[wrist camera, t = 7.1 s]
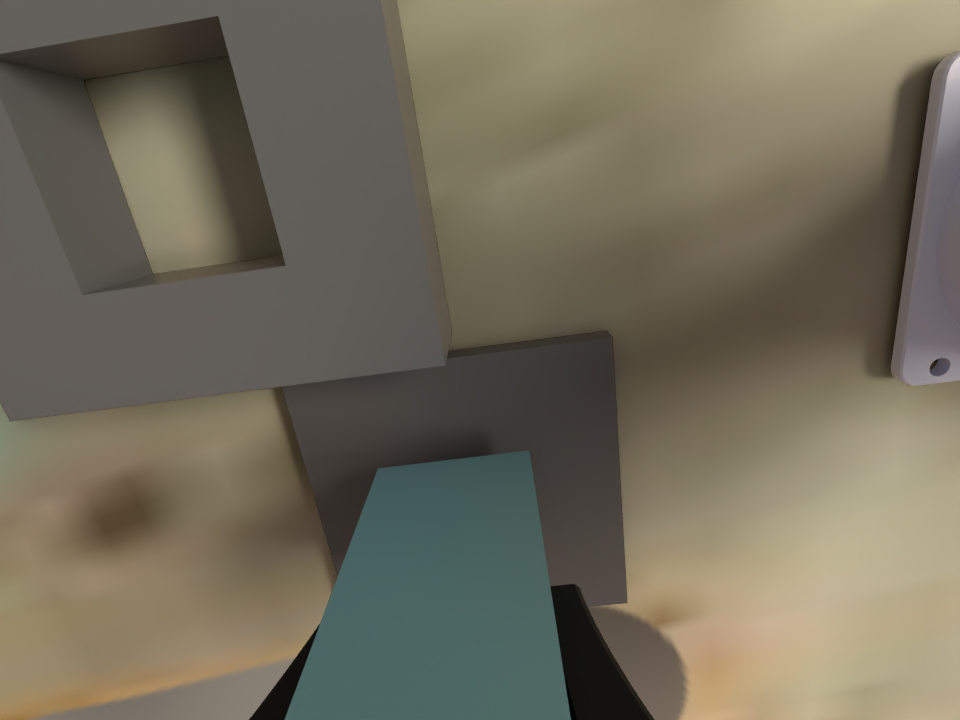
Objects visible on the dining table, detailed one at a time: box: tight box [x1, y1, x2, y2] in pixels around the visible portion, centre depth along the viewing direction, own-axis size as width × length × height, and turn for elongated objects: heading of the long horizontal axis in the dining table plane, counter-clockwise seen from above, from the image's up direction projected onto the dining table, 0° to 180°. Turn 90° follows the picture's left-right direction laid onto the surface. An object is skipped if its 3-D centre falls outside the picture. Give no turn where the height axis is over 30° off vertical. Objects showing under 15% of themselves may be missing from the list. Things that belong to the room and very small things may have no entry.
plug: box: [285, 450, 571, 720], centre depth 10 cm, size 4×4×8 cm
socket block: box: [0, 0, 452, 421], centre depth 11 cm, size 11×10×2 cm
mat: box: [282, 331, 627, 607], centre depth 15 cm, size 9×9×1 cm
